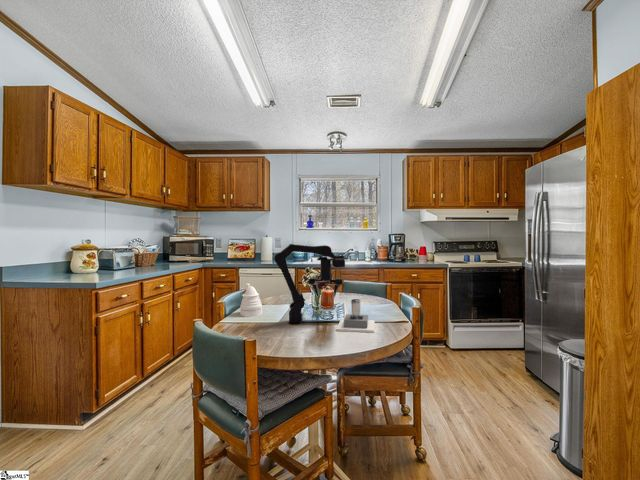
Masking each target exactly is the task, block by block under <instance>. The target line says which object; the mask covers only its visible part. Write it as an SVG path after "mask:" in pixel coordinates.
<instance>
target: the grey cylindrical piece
mask: <svg viewBox="0 0 640 480" xmlns="http://www.w3.org/2000/svg"><path fill="white" fill-rule="evenodd" d="M350 302H351V315H352V319H360V320H361V315H362V313H361V299H358V298H353V299H351V300H350Z"/></svg>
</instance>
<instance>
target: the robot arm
mask: <svg viewBox="0 0 640 480" xmlns="http://www.w3.org/2000/svg"><path fill="white" fill-rule="evenodd" d="M293 252H296V253H297V252H298V253H309V254H316V255H319V256H318V257H317V258H316V260H317V261H320V273H319V278H318V277H310V278H308V281H307V283H308V285H310V286H312V287H313V290H314V292H315V294H316V297H319V285H318V284H319V283H320V284H321V283H322V284H324V283H326V284H327V283H328V284H331V283H332V284H334V286H333V287H334V288H333V289H334V290H333V298H336V295H337V291H338V288H339V287H341V286H342V285H343V284H344V278H343V277H336V278H335V279H334V278H333V273H332V267H333V268H334V269H343V268H345V267H346V261H345V256H344V255H343V254H342V255H341V254H340V255H335V254H334V253H333V251H332V248H331V246H329V245H314V246H313V245H312V246H311V245H302V244H294V243H289V244H288V246H286V247H284V249H282V250H281V251H280V252H276V253H274V255H273V261H274V262H275V264H276V265H277V266H278V268H279V269H280V271H281V272H282V275H283V277H284V280H285V282H286V285H287V286H288V289H289V292H290V294H291V295H290V296H291V299H292V302H291V303H290V304H289V309H290V310H288V322H287V323H288V324H291V325H292V324H295V325H300V324H301V323H302V322H303V320H304V319H303V318H304V317H303V315H304V314H303V311H302V309H303V308H304V307H305V305H306V303H305V301H306V299H305V297H304V295H303V293H302V291H300V292H299V291H298V290H297V287H296V285H295V282H294V280H293V278H292V277H293V276H291V273H290V270H289V268H288V263H287V258H288V257H289V256H290V255H291V254H292V253H293Z"/></svg>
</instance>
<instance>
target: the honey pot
mask: <svg viewBox="0 0 640 480" xmlns="http://www.w3.org/2000/svg"><path fill="white" fill-rule="evenodd" d="M245 287H247V289H246V290H245V292H244V293H243V294H242V295H241V296H242V299H241V303H240V306H239V308H240V309H239V312H240V316H241V317H245V316H248V317H249V318H251V317H258V316H261V315H262V314H263V304H262V301H261V298H260V293H258V292H257V290H256V288H255V287H254V286H252V285H251V283H245Z"/></svg>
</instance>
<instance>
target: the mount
mask: <svg viewBox="0 0 640 480" xmlns="http://www.w3.org/2000/svg"><path fill="white" fill-rule="evenodd" d="M375 324H376V323H375V320H374V319H369V315H368V314H361V320H360V319H352V313H351V314H346V315H345V316H344V318H341V319H340V321H339V323H338V325H337V327H336V332H351V333H352V332H353V333H375Z"/></svg>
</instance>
